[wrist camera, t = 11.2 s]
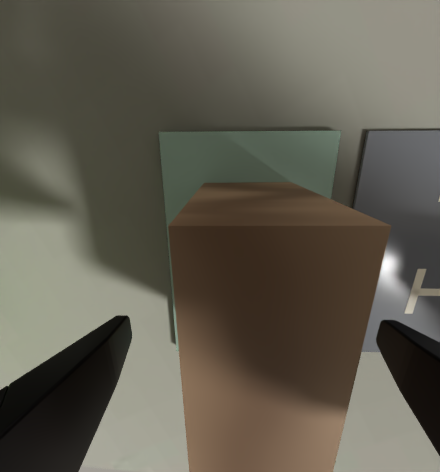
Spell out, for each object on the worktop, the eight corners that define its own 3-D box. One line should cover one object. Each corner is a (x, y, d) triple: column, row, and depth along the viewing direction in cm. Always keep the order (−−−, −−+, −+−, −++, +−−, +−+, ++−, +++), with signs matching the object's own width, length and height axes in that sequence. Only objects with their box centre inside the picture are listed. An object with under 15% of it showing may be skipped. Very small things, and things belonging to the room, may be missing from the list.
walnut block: (291, 182, 12) (390, 225, 5) (279, 323, 15) (329, 487, 8) (204, 182, 12) (167, 226, 5) (208, 322, 15) (190, 482, 8)
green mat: (336, 131, 12) (341, 130, 11) (304, 348, 17) (307, 353, 16) (161, 132, 12) (158, 131, 12) (177, 345, 17) (176, 351, 16)
